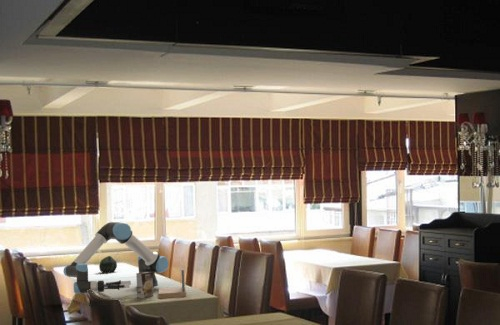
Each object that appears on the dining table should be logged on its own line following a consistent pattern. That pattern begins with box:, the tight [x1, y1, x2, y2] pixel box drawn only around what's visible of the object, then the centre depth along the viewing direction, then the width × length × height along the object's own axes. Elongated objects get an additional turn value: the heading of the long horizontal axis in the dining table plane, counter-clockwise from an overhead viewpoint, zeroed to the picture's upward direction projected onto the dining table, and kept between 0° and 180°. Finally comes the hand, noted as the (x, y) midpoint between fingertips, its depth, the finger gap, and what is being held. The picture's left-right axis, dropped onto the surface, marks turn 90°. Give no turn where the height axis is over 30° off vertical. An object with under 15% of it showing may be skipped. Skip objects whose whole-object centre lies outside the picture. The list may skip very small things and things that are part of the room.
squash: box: [98, 255, 118, 274], centre depth 620 cm, size 14×15×15 cm
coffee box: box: [135, 272, 154, 299], centre depth 481 cm, size 9×6×16 cm
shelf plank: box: [158, 286, 187, 299], centre depth 483 cm, size 22×18×3 cm
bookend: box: [180, 266, 186, 291], centre depth 484 cm, size 16×2×14 cm, turn 7°
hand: (130, 284), depth 479 cm, fingers open, 13 cm apart
